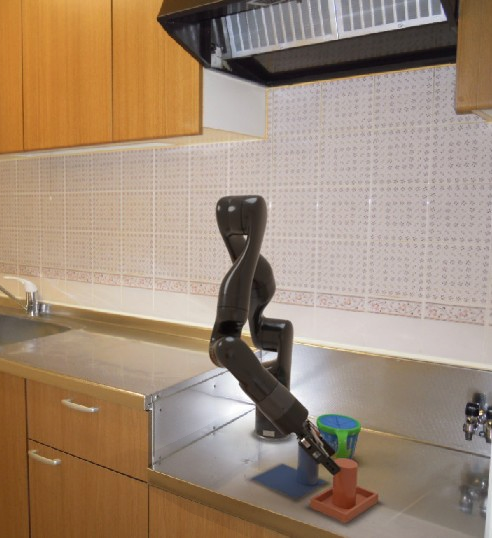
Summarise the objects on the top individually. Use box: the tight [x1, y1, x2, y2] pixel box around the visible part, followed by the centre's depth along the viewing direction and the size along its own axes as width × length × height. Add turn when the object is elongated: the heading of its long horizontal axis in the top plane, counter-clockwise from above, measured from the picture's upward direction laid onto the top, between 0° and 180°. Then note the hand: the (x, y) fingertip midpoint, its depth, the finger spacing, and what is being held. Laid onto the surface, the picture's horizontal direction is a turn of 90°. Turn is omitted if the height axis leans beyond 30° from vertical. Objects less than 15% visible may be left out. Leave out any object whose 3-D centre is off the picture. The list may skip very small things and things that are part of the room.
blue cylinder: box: [296, 443, 320, 486], centre depth 132 cm, size 5×5×9 cm
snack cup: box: [315, 413, 362, 461], centre depth 144 cm, size 16×10×10 cm
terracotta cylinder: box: [332, 458, 359, 509], centre depth 122 cm, size 5×5×9 cm
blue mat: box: [252, 463, 327, 500], centre depth 133 cm, size 12×12×1 cm
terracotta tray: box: [309, 485, 379, 524], centre depth 122 cm, size 13×8×2 cm, turn 130°
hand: (334, 463), depth 122 cm, fingers open, 8 cm apart
